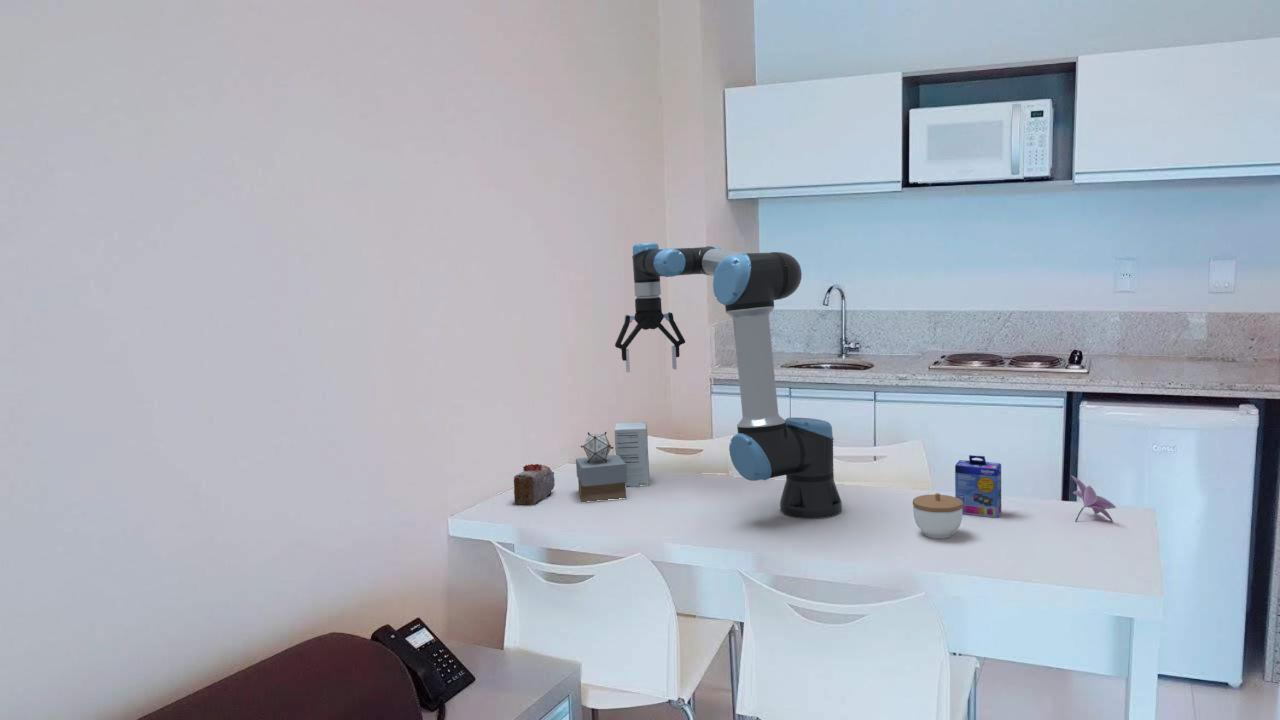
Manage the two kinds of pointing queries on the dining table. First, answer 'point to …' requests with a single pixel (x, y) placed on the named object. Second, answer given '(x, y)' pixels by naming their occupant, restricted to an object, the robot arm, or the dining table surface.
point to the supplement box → (633, 451)
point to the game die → (597, 447)
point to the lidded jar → (937, 515)
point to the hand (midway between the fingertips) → (651, 370)
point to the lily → (1092, 499)
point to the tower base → (602, 492)
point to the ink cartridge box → (978, 486)
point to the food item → (533, 484)
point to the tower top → (601, 471)
